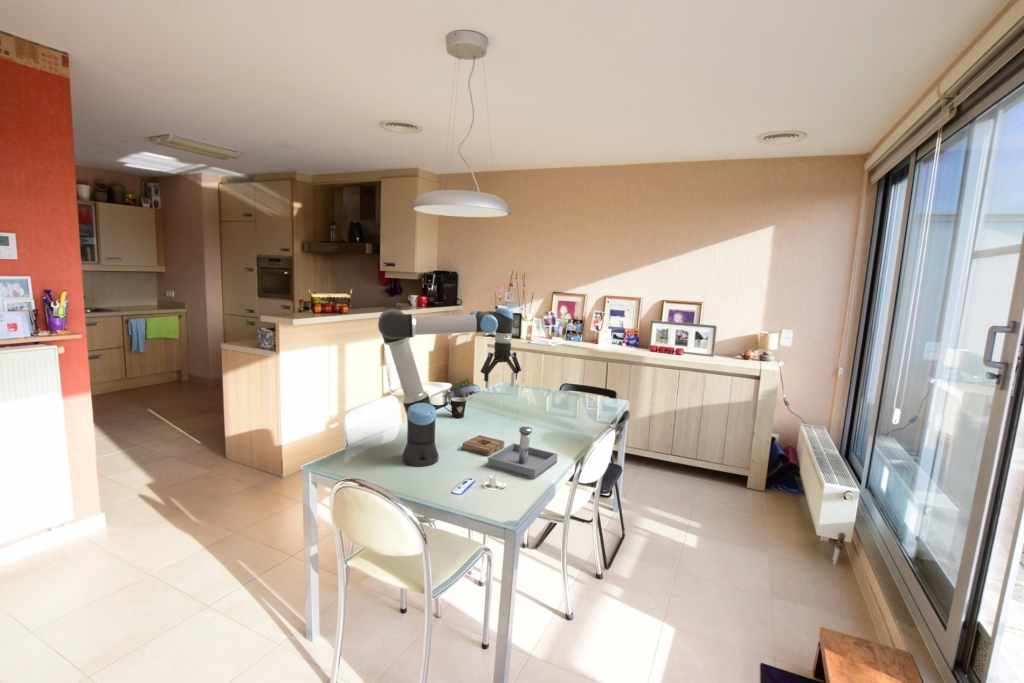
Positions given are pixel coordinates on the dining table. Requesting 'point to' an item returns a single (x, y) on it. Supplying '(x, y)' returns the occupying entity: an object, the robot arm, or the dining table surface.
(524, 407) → the dining table surface
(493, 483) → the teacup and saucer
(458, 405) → the coffee mug
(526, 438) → the lock pin
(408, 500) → the dining table surface
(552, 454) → the tray
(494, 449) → the socket block
